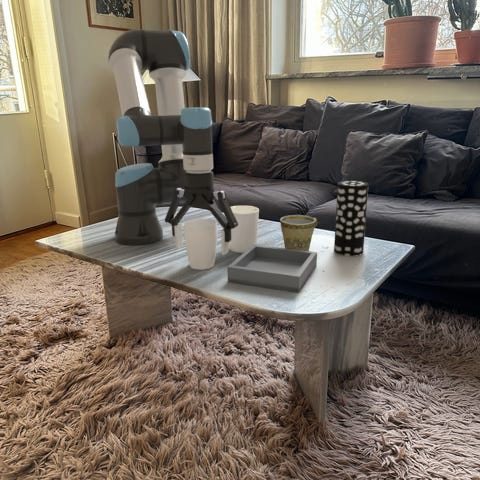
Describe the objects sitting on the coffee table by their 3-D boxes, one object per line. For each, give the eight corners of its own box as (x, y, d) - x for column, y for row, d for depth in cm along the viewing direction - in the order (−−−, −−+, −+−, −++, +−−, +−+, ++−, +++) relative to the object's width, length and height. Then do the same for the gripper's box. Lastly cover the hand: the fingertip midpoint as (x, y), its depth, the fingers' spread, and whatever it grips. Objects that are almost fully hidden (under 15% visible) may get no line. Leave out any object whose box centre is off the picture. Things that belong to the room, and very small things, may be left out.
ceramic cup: (297, 261, 125) (298, 226, 122) (272, 252, 132) (272, 218, 129) (328, 251, 133) (330, 218, 130) (303, 243, 140) (304, 211, 137)
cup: (217, 271, 118) (216, 227, 115) (183, 271, 119) (180, 227, 115) (219, 259, 127) (218, 218, 123) (187, 259, 127) (185, 218, 124)
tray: (227, 281, 112) (227, 266, 111) (253, 258, 128) (253, 244, 126) (299, 292, 105) (299, 276, 104) (316, 266, 121) (317, 252, 120)
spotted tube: (335, 245, 137) (339, 180, 131) (364, 248, 135) (369, 181, 129) (332, 254, 130) (336, 185, 124) (362, 257, 127) (367, 186, 121)
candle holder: (223, 253, 132) (222, 213, 128) (229, 242, 141) (228, 205, 138) (257, 254, 131) (257, 214, 127) (260, 243, 140) (260, 205, 136)
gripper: (148, 171, 116) (154, 249, 122) (238, 175, 107) (239, 260, 113) (163, 167, 123) (168, 242, 129) (249, 170, 114) (250, 251, 120)
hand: (201, 250), depth 121 cm, fingers open, 13 cm apart
